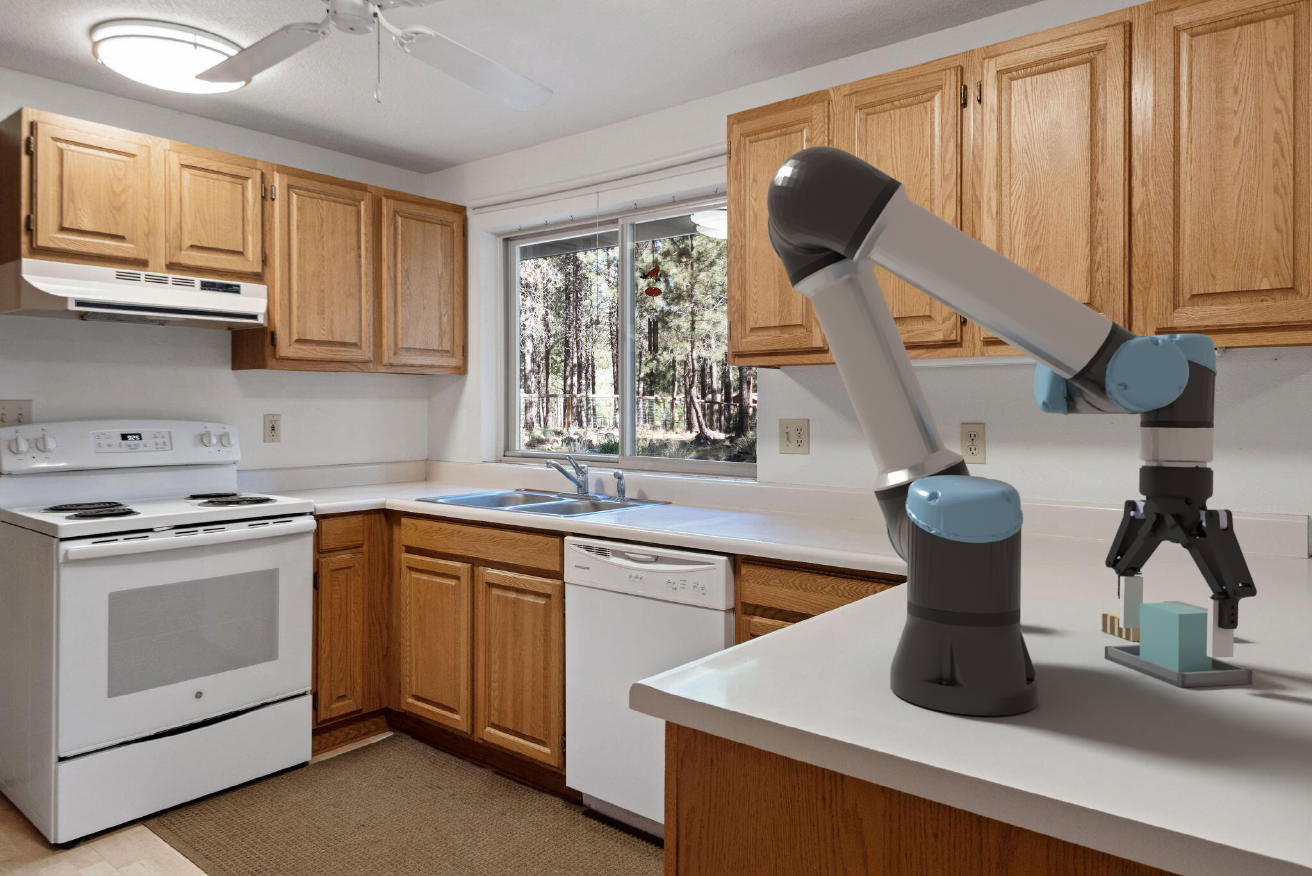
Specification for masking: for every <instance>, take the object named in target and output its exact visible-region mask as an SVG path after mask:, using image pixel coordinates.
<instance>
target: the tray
mask: <svg viewBox="0 0 1312 876" xmlns="http://www.w3.org/2000/svg"><path fill="white" fill-rule="evenodd" d="M1104 659H1106V660H1109V661H1111V662H1114V663H1116V664H1119V665H1121V666H1124V667H1127V668H1129V669H1132V670H1135V671H1136V672H1137V671H1138V672H1140V673H1142V674H1144V675H1148V676H1149V677H1153V678H1155V679H1158V680H1161V681H1163V682H1166V683H1169V684H1171V685H1173V686H1175V687H1179V688H1181V689H1183V688H1201V687H1218V686H1234V685H1250V684H1251V685H1252V684H1253V670H1252V669H1249V668H1246V667H1243V666H1239V665H1236V664H1234V663H1230V662H1228V661H1224V660H1221V659H1219V658H1216V657H1215V658H1212V671H1202V672H1183V673H1182V672H1179V671H1176V670H1173V669H1171V668H1168V667H1165V666H1162V665H1160V664H1157V663H1154V662H1151V661H1149V660H1146V659H1143V658H1140V644H1129V645H1128V644H1125V645H1105V646H1104Z"/></svg>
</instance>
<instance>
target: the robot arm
mask: <svg viewBox="0 0 1312 876" xmlns="http://www.w3.org/2000/svg"><path fill="white" fill-rule="evenodd" d="M766 205H767V211H768V218H767V233H768V237H769V241H770V244H771V246H772V249H773V250H774V252H775V254H777V256H778V258H779V259H780V260H781V262H782V264H783V267H784V270H785V272H786V275H787V276H788V279H789V282H790V285H791V287H792V289H793V291H794V292H795V293H797V294H799V295H802V296H804V297H806V298H807V299H809V300H810V302H811V304H812V308H813V310H814V312H815V314H816V318H817V319H818V321H819V324H820V328H821V329H822V331H823V332H822V333H823V334H824V337H825V340H826V342H827V345H828V347H829V349H830V353H831V355H832V357H833V360H834V362H835V364H836V367H837V370H838V372H839V375H840V377H841V380H842V381H843V384H844V386H845V390H846V392H847V395H848V398H849V400H850V402H851V405H852V408H853V410H854V412H855V414H856V417H857V419H858V423H859V425H860V427H861V429H862V432H863V435H864V437H865V440H866V443H867V445H868V447H869V450H870V452H871V454H872V457H873V460H874V462H875V465H876V467H877V470H878V472H877V477H876V479H875V481H874V483H873V486H872V491H873V492H874V495H875V497H876V500H877V502H878V503H877V504H878V506H879V507H880V510H881V513H882V515H883V518H884V521H885V527H886V534H887V538H888V541H889V543H890V545H891V547H892V548H893V550H894V551H895V553H896V554H897V555H898V556H899V558H901V559H902V561H904V563H906V565H907V566H906V572H907V573H906V621H905V624H904V627H903V629H902V631H901V635H900V638H899V641H898V643H897V644H898V645H897V648H895V649H896V650H895V654H894V656H893V659H892V662H891V664H890V671H889V672H890V673H889V674H890V677H889V679H890V681H889V682H890V684H889V686H890V689H891V691H892V693H894V694H895V695H897V696H898V697H899V698H901V699H903V700H905V701H907V702H909V703H911V704H914V705H917V706H921V707H925V708H928V709H931V710H937V711H941V712H945V713H953V714H960V715H969V716H970V715H971V716H984V717H985V716H989V717H991V716H995V717H996V716H1008V715H1009V716H1011V715H1015V714H1016V715H1017V714H1022V713H1026V712H1029V711H1030V710H1033V709H1034V708H1036V707H1037V705H1038V704H1039V682H1038V681H1039V680H1038V677H1037V673H1036V671H1035V668H1034V665H1033V662H1032V659H1031V656H1030V653H1029V650H1028V649H1029V648H1027V644H1026V641H1025V637H1024V635H1023V632H1022V626H1021V611H1022V610H1021V605H1022V604H1021V603H1022V602H1021V601H1022V597H1021V596H1022V595H1021V594H1022V593H1021V591H1022V575H1021V574H1022V527H1023V523H1024V513H1023V510H1022V505H1021V502H1022V501H1021V496H1020V492H1019V491H1018V490H1017V489H1016V487H1014V486H1013V485H1011V484H1010V483H1008V482H1006V481H1002V480H999V479H994V478H988V477H984V476H974V475H971V474H970V471H969V468H968V466H967V464H966V461H965V459H964V457H963V455H962V454H959V453H956V452H954V451H952V450H950V449H949V448H947V447H946V446H945V444H944V441H943V439H942V436H941V433H940V431H939V429H938V426H937V424H936V421H935V419H934V416H933V414H932V411H931V409H930V406H929V404H928V400H927V399H926V396H925V394H924V392H923V389H922V386H921V384H920V382H919V380H918V377H917V374H916V371H915V370H914V367H913V364H912V362H911V359H910V357H909V355H908V352H907V350H906V346H905V344H904V341H903V339H902V337H901V334H900V332H899V330H898V327H897V325H896V322H895V320H894V318H893V315H892V312H891V309H890V307H889V305H888V302H887V300H886V297H885V294H884V292H883V290H882V287H881V285H880V283H879V280H878V277H877V275H876V273H875V269H876V266H877V265H878V266H879V267H881V268H882V269H884V270H886V271H888V272H889V273H891V274H892V275H894V276H896V277H897V278H899V279H901V280H902V281H903V282H905V283H907V284H909V285H911V286H912V287H914V288H915V289H917V290H919V291H920V292H922V293H923V294H925V295H927V296H928V297H930V298H932V299H934V300H935V301H936V302H939V304H942V305H943V306H945V307H947V308H948V309H950V310H952V311H953V312H955V313H957V314H958V315H960V316H962V317H964V318H965V319H967V320H968V321H970V322H972V323H973V324H974V325H976V326H978V327H979V328H981V329H982V330H984V331H986V332H988V333H989V334H991V335H993V336H994V337H996V338H998V339H999V340H1001V341H1003V342H1004V343H1006V344H1007V345H1009V346H1011V347H1013V348H1014V349H1016V350H1017V351H1018V352H1021V353H1023V354H1024V355H1026V356H1028V357H1029V358H1031V359H1033V360H1034V361H1036V362H1037V364H1036V366H1035V371H1034V378H1033V393H1034V400H1035V403H1036V405H1037V407H1038V408H1039V410H1040V411H1042V412H1043V413H1047V414H1058V415H1059V414H1062V415H1065V416H1069V415H1122V414H1123V415H1139V416H1140V423H1139V427H1140V428H1139V429H1140V430H1139V433H1140V434H1139V450H1138V451H1139V457H1138V458H1139V460H1141V461H1142V462H1143V461H1144V462H1145V463H1144V464H1145V465H1144V464H1143V465H1141V467H1139V474H1138V475H1139V476H1138V478H1139V479H1138V480H1139V481H1138V483H1139V484H1138V491H1139V494H1140V495H1141V496H1143V497H1145V499H1126V500H1125V502H1124V506H1123V507H1124V508H1123V515H1122V516H1123V517H1122V518H1121V522H1120V524H1119V527H1118V529H1117V531H1116V533H1115V536H1114V539H1113V541H1112V543H1111V547H1110V548H1109V551H1108V553H1107V556H1106V558H1105V561H1104V564H1105V567H1107V568H1109V569H1110V568H1111V569H1112V570H1114V572H1115V574H1116V575H1117V597H1118V600H1119V613H1120V614H1119V627H1121V628H1140V603H1144V576H1141V575H1143V572H1142V571H1141V569H1143V567H1144V566H1145V564H1146V563H1147V561H1148V560H1149V559H1150V558H1151V556H1152V555H1153V554H1154V553H1155V551H1156V550H1157V548H1158V547H1159V546H1160V544H1161V543H1162V542H1167V541H1168V542H1170V543H1172V544H1179V545H1180V546H1181V547H1182V548H1183V549H1185V550H1187V551H1188V554H1189V555H1190V556H1191V558H1192V560H1193V562H1194V563H1195V565H1196V567H1197V568H1198V570H1199V571H1200V573H1201V576H1202V578H1203V579H1204V580H1205V582H1206V584H1207V585H1208V587H1209V588H1210V590H1211V592H1212V595H1211V596H1209V597H1208V598H1207V609H1208V612H1207V656H1209V657H1212V658H1215V659H1216V658H1233V657H1234V636H1235V634H1234V632H1235V630H1237V629H1238V626H1239V602H1240V600H1242V599H1245V598H1252V597H1256V596H1257V594H1258V590H1257V588H1256V585H1255V582H1254V580H1253V577H1252V574H1251V571H1250V569H1249V567H1248V564H1247V561H1246V558H1245V556H1244V553H1243V551H1242V548H1241V544H1240V543H1239V541H1238V538H1237V535H1236V533H1235V531H1234V518H1233V512H1232V511H1231V510H1230V509H1221V508H1219V509H1208V506H1207V501H1208V499H1210V498H1212V497H1213V495H1214V470H1212V467H1208V463H1212V462H1213V461H1214V446H1215V444H1214V439H1215V436H1214V435H1215V423H1214V422H1215V395H1216V393H1215V392H1216V378H1217V375H1218V371H1217V365H1216V364H1217V362H1216V360H1217V359H1216V357H1217V356H1216V351H1215V349H1216V348H1215V342H1214V341H1213V339H1212V338H1211V336H1209V335H1205V334H1202V333H1175V334H1174V333H1173V334H1157V335H1152V336H1151V335H1148V336H1146V335H1141V336H1139V335H1138V334H1135V333H1134V332H1132V331H1130V330H1129V329H1127V328H1125V327H1124V326H1122V325H1120V324H1118V323H1116V322H1114V321H1113V320H1111V319H1109V318H1107V317H1105V316H1104V315H1102V314H1101V313H1098V312H1097V311H1095V310H1094V309H1092V308H1091V307H1089V306H1087V305H1086V304H1084V303H1082V302H1080V301H1079V300H1077V299H1076V298H1074V297H1072V296H1071V295H1069V294H1067V293H1066V292H1064V291H1063V290H1061V289H1059V288H1058V287H1055V286H1054V285H1052V284H1051V283H1049V282H1047V281H1046V280H1044V279H1042V278H1040V277H1039V276H1037V275H1036V274H1034V273H1032V272H1031V271H1029V270H1027V269H1025V268H1024V267H1022V266H1020V265H1019V264H1018V263H1015V262H1014V261H1012V260H1011V259H1009V258H1007V257H1006V256H1004V255H1003V254H1001V253H999V252H997V251H996V250H994V249H993V248H991V247H989V246H987V245H986V244H984V243H982V242H981V241H979V240H977V239H976V238H974V237H973V236H970V235H969V234H967V233H966V232H964V231H962V230H961V229H959V228H957V227H955V226H954V225H952V224H951V223H949V222H947V221H945V220H944V219H942V218H940V217H939V216H938V215H935V214H934V213H932V212H931V211H929V210H927V209H926V208H924V207H922V206H921V205H919V204H918V203H916V202H914V201H912V200H911V199H909V197H908V193H907V189H906V185H905V184H904V183H902V182H901V181H899V180H897V179H895V178H893V177H892V176H890V175H888V174H887V173H885V172H884V171H882V170H881V169H879V168H877V167H876V166H874V165H873V164H871V163H869V162H867V161H865V160H864V159H861V158H859V157H858V156H856V155H853V154H851V153H850V152H848V151H845V150H843V149H840V148H838V147H837V148H836V147H831V146H826V145H824V146H811V147H808V148H805V149H801V150H799V151H797V152H795V153H793V154H791V156H789V157H788V158H787V159H785V161H783V162H782V163H781V164H780V166H779V167H778V168H777V169H776V171H775V172H774V174H773V177H772V178H771V181H770V183H769V187H768V191H767V200H766Z"/></svg>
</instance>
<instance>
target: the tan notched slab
mask: <svg viewBox="0 0 1312 876" xmlns="http://www.w3.org/2000/svg"><path fill="white" fill-rule="evenodd" d="M1165 602H1173V603H1177V604H1181V605H1185V606H1188V607H1192V608H1196V609H1200V610H1204V611H1208V607H1203V606H1199V605H1194V604H1190V603H1187V602H1183V601H1180V600H1174V601H1172V600H1170V601H1162V603H1165ZM1119 614H1120V612H1109V613H1107V612H1106V613H1105V612H1102V613H1101V615H1100V619H1101V623H1100V625H1101V626H1100V632H1104V633H1106V634H1109V635H1113V636H1116V637H1118V638H1121V639H1123V640H1127V641H1130V642H1140V628H1121V627H1119Z"/></svg>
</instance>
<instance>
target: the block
mask: <svg viewBox="0 0 1312 876" xmlns="http://www.w3.org/2000/svg"><path fill="white" fill-rule="evenodd" d="M1207 612H1208V611H1204V610H1200V609H1196V608H1192V607H1188V606H1185V605H1181V604H1177V603H1173V602H1165V603H1163V602H1149V603H1148V602H1147V603H1145V602H1143V603H1140V641H1139V645H1140V658H1143V659H1146V660H1149V661H1151V662H1154V663H1157V664H1160V665H1162V666H1165V667H1168V668H1171V669H1173V670H1176V671H1179V672H1182V673H1183V672H1202V671H1212V657H1209V656H1207Z"/></svg>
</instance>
